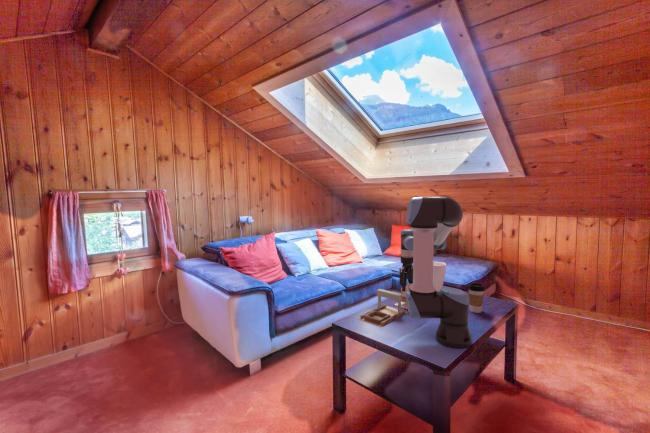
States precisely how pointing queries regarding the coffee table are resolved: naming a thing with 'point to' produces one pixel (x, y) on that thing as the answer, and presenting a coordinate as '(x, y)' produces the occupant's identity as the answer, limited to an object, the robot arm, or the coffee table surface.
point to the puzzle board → (381, 315)
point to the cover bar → (389, 295)
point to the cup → (438, 274)
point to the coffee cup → (476, 297)
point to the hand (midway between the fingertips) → (407, 295)
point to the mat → (402, 305)
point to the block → (404, 297)
